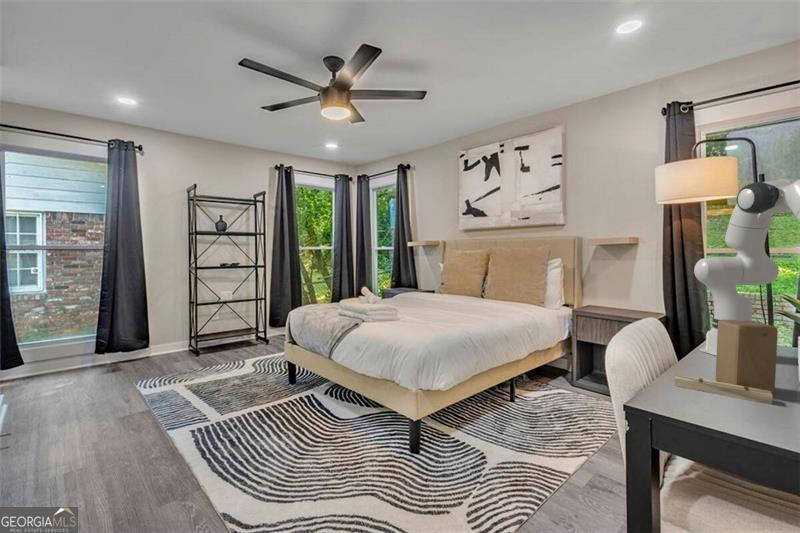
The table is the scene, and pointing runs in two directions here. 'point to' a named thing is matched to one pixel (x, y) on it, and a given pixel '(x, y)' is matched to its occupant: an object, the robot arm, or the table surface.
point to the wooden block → (746, 354)
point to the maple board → (724, 389)
